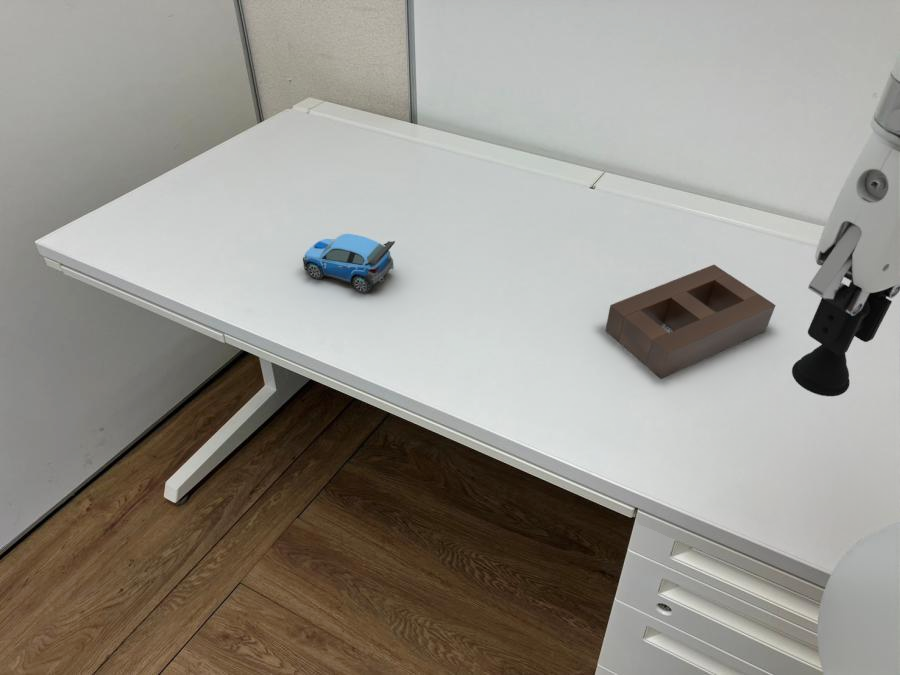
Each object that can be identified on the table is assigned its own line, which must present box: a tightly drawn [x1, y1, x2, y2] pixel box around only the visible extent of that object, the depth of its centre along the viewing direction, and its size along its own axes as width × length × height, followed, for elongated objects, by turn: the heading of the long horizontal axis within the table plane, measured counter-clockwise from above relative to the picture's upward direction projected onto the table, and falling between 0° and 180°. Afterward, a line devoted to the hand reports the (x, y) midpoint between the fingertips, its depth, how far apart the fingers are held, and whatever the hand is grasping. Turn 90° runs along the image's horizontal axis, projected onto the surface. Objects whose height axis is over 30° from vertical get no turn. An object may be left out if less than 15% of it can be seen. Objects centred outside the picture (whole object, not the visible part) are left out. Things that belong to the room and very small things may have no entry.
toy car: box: [302, 233, 396, 294], centre depth 92 cm, size 6×12×6 cm, turn 66°
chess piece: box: [791, 285, 870, 397], centre depth 55 cm, size 4×4×10 cm
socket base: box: [605, 264, 776, 380], centre depth 84 cm, size 10×17×4 cm, turn 120°
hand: (839, 336), depth 56 cm, fingers closed on chess piece, 2 cm apart
